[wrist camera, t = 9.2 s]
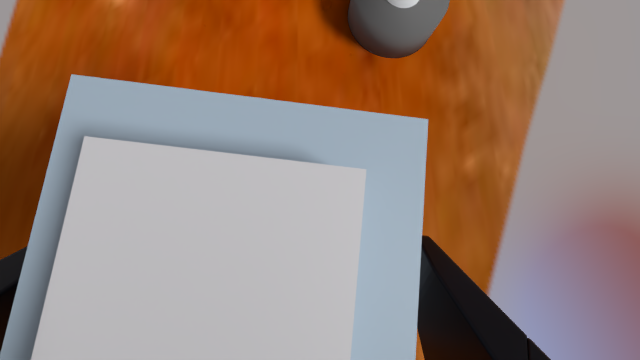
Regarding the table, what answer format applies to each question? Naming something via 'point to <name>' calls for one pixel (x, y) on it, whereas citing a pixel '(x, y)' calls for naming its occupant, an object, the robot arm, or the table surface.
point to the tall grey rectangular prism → (222, 231)
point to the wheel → (394, 24)
